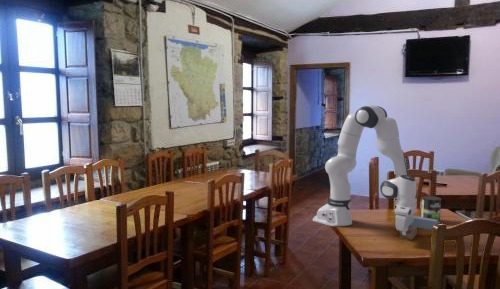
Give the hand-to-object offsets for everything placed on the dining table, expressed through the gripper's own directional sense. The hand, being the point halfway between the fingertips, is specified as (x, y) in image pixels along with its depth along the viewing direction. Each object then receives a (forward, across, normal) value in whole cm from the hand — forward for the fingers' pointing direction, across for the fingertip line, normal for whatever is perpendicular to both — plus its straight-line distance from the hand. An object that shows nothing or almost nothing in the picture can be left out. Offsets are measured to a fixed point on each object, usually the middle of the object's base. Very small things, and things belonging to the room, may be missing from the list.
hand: (404, 234), depth 201 cm
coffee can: (+3, -40, +4) cm, 40 cm away
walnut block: (+3, -7, 0) cm, 7 cm away
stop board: (+3, -26, 0) cm, 26 cm away
